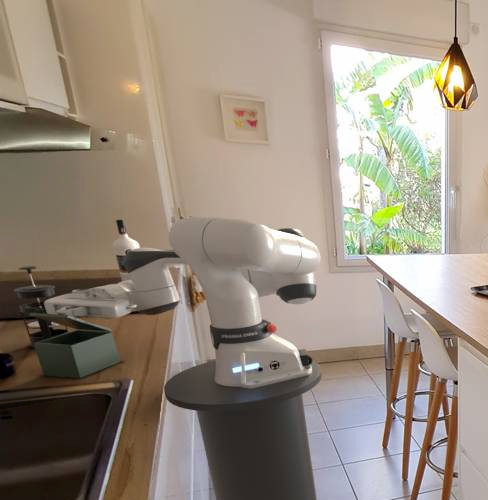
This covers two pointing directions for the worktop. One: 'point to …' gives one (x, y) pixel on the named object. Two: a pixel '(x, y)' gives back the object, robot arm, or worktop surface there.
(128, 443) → the worktop surface
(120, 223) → the vodka
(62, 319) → the lid
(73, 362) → the green box
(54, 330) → the french press
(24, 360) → the worktop surface
